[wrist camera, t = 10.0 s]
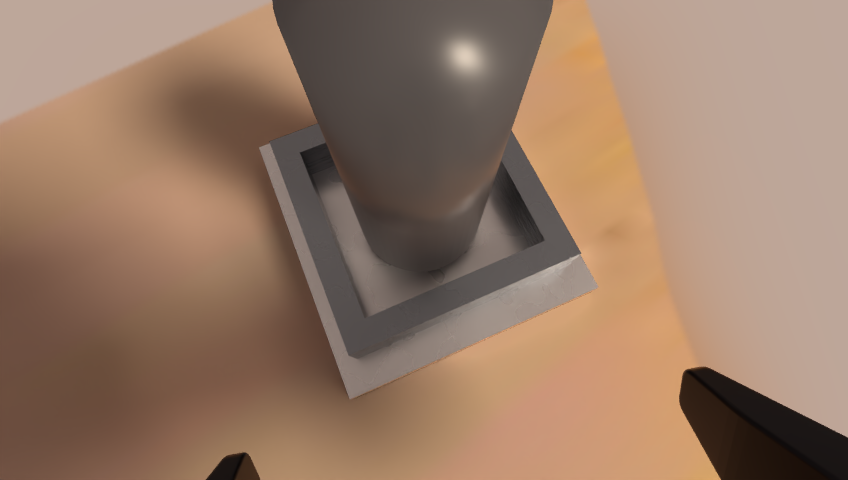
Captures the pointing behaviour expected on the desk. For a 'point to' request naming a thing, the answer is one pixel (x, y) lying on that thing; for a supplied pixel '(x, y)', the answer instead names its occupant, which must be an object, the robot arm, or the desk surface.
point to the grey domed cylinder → (415, 109)
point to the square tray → (429, 290)
